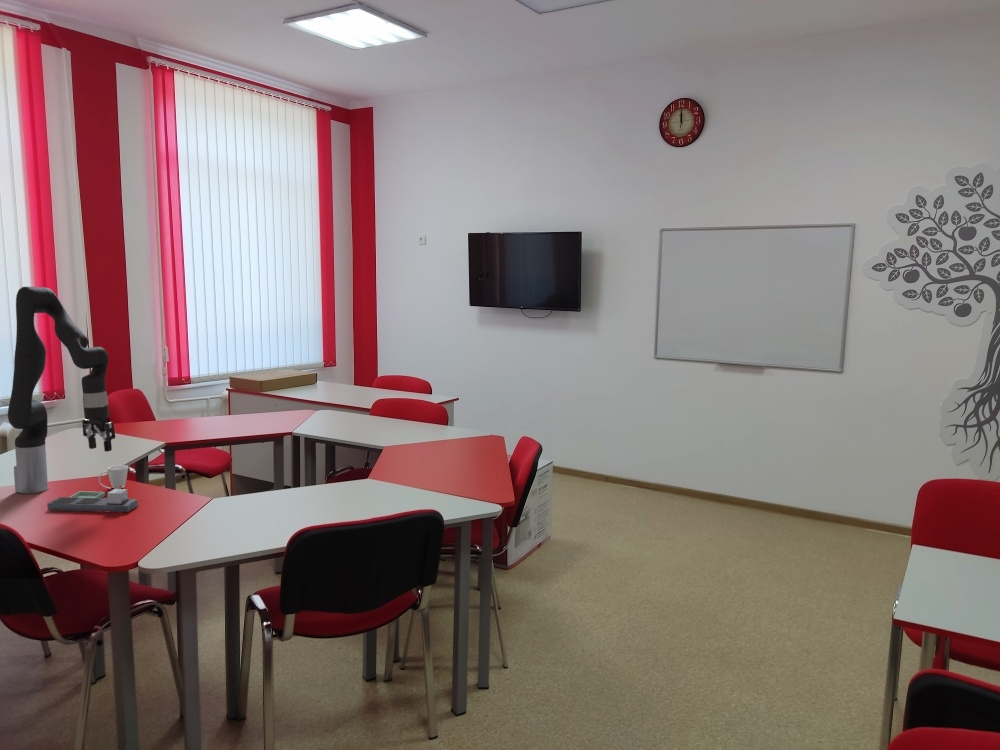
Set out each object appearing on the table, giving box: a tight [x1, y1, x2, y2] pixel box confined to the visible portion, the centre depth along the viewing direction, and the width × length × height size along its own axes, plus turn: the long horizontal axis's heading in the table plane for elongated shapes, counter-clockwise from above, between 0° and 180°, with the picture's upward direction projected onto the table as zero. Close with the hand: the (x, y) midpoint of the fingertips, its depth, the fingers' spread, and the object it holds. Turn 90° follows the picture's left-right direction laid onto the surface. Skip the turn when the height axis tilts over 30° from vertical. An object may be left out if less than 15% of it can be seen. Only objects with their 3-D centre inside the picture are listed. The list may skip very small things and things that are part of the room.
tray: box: [69, 490, 106, 498], centre depth 248 cm, size 9×9×2 cm
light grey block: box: [107, 488, 129, 505], centre depth 240 cm, size 4×4×6 cm
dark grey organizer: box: [46, 496, 139, 513], centre depth 240 cm, size 27×7×3 cm, turn 91°
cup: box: [98, 464, 129, 490], centre depth 261 cm, size 7×10×8 cm
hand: (100, 449), depth 244 cm, fingers open, 8 cm apart
